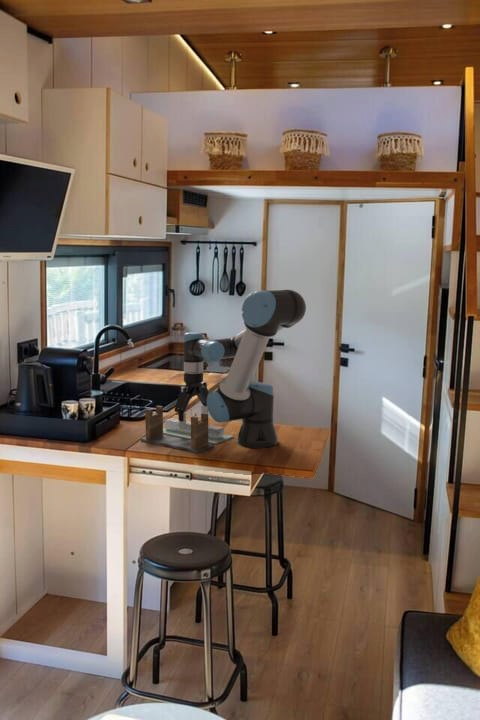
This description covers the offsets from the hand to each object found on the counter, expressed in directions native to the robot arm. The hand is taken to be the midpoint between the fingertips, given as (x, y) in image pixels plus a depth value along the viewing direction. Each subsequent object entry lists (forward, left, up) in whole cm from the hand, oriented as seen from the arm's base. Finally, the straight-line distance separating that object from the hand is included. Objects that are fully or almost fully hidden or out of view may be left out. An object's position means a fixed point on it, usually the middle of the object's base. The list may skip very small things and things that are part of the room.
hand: (193, 425), depth 272 cm
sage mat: (0, 0, -4) cm, 4 cm away
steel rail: (0, 0, -3) cm, 3 cm away
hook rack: (-3, +14, -4) cm, 15 cm away
